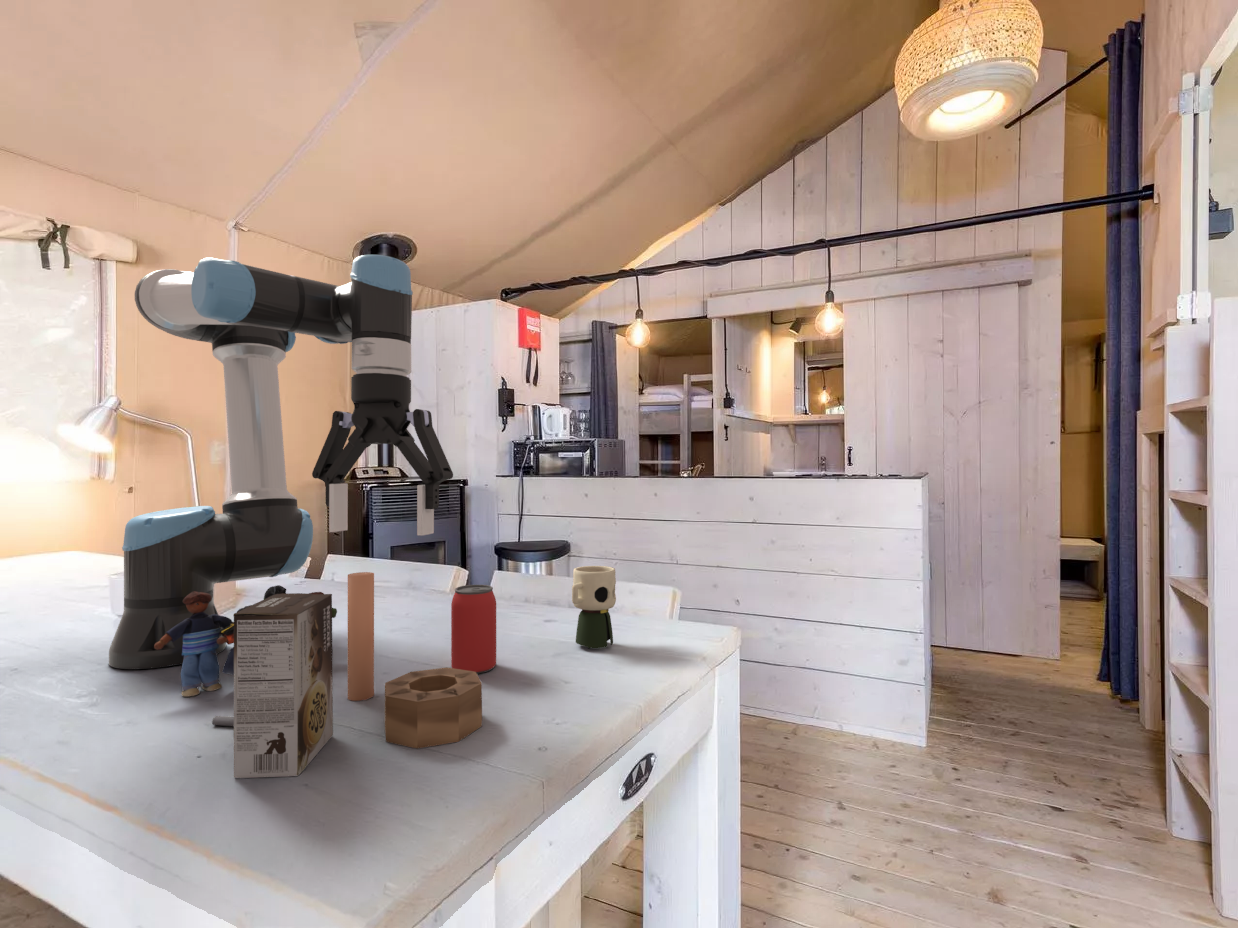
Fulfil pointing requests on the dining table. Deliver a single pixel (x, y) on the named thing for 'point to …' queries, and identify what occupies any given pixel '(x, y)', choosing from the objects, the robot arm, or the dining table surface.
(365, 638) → the peach rounded rod
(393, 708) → the bead
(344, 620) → the dining table surface
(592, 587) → the character mug
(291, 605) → the coffee box
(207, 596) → the doll family
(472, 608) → the beer can
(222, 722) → the grey thin rod
